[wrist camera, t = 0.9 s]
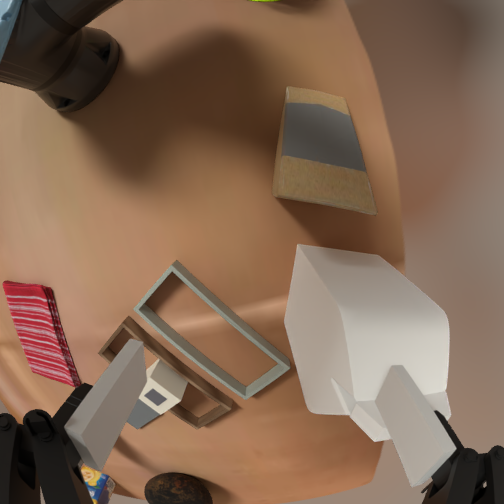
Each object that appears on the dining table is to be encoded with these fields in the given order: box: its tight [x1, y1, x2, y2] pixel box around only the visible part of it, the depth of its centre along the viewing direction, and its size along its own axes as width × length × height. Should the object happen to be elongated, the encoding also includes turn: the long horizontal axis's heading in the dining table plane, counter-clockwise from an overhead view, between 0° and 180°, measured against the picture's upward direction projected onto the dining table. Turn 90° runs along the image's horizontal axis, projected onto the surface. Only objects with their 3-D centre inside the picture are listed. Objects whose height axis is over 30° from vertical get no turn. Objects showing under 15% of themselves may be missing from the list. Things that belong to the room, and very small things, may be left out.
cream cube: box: [139, 359, 188, 415], centre depth 39 cm, size 6×6×6 cm
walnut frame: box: [98, 316, 233, 429], centre depth 41 cm, size 23×10×2 cm, turn 46°
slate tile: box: [126, 398, 160, 429], centre depth 44 cm, size 10×10×1 cm
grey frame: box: [133, 260, 290, 400], centre depth 38 cm, size 23×10×2 cm, turn 46°
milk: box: [284, 244, 451, 442], centre depth 25 cm, size 12×12×26 cm
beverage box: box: [81, 466, 116, 504], centre depth 45 cm, size 7×11×22 cm, turn 91°
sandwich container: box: [272, 86, 378, 216], centre depth 26 cm, size 9×15×15 cm, turn 172°
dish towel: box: [3, 281, 81, 388], centre depth 41 cm, size 17×24×3 cm
